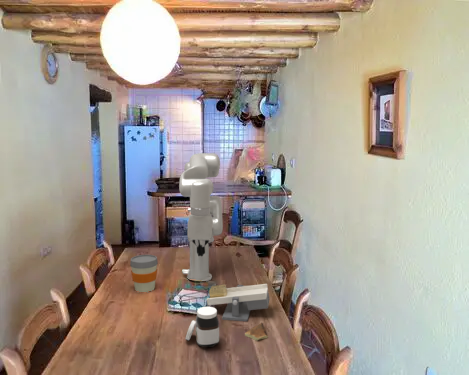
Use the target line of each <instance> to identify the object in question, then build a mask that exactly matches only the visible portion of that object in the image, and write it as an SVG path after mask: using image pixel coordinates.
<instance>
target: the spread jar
mask: <svg viewBox="0 0 469 375" xmlns="http://www.w3.org/2000/svg"><path fill="white" fill-rule="evenodd" d="M217 315H218V310H217V308H215V307H213V306H203V307H199V308H198V309H197V312H196V317H195V320H191V322H190V325H189V327H188V329H187V333H186V335H185V340H187V341H190V339H191V337H192V335H193V333H194V331H195V339H196V344H197V345H198V346H200V347H202V348H212V347H214V346H216V345H218V344H219V342H220V322H219V318H218V316H217Z"/></svg>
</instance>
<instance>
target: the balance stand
mask: <svg viewBox="0 0 469 375" xmlns="http://www.w3.org/2000/svg"><path fill="white" fill-rule="evenodd" d="M242 286H244V284H237V286H236V287H242ZM250 314H251V310H248V306H247V301H244V302H239V297H233V298H232V303H227V305H226V307H225V310H224V313H223V314H222V316H221V320H223V321H224V320H225V321H237V322H238V321H239V322H248V321H249V316H250Z"/></svg>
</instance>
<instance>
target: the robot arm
mask: <svg viewBox="0 0 469 375" xmlns="http://www.w3.org/2000/svg"><path fill="white" fill-rule="evenodd" d="M220 160H221V159H220V157H219V155H218V154H217V153H213V152H209V153H208V152H207V153H206V152H203V153H202V152H201V153H199V152H197V153H194V154H192V155H191V157H190V158H189V161H188V162H186V163H185V164H184V166H183V167H184V171H183V172H182V173H181V174H180V176H179V177H180V178H179V185H178V187H179V189H178V190H179V193H180V195H181V196H182V197H184V198H187V197H188V198H189V206H190V207H189V208H187V212H188V213H190V214H189V216H188V221H187V234H186V235H187V241H188V242H189V268H188V269H186V268H182V271H181V273H182V274H183V275H186V279H187V278H188V279H196V280H202V281H206V282H209V281H211V279H212V278H213V276H212V275H213V274H211V273H210V270H209V269H210V263H209V262H210V260H209V259H210V258H209V256H210V254H209V247H210V246H209V245H210V244H209V243H213V242H214V241H215V239H214V237H216V236H221V235H222V233H223V228H224V227H223V222H224V221H223V206H222V205H223V204H222V200H221V198H220V197H219V196H218V195H212V194H213V192H214V183H213V182H212V180H211V179H212V178H216V177H218V176H219V174H220V169H221V168H220V167H221V161H220ZM209 178H211V179H209ZM188 279H187V280H188Z"/></svg>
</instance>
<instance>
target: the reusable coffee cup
mask: <svg viewBox="0 0 469 375" xmlns="http://www.w3.org/2000/svg"><path fill="white" fill-rule="evenodd" d="M130 267H131V271H130V273H131V278H132V282H133V285H134V290H136V291H139V292H147V293H149V292H148V291H151V292H153V291H154V290H155V288H156V280H157V276H158V257H157V256H156V255H155V254H154V255H153V254H138V255H135V256H133V257H131V258H130ZM152 290H153V291H152ZM136 291H135V292H136ZM139 292H138V293H139Z"/></svg>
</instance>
